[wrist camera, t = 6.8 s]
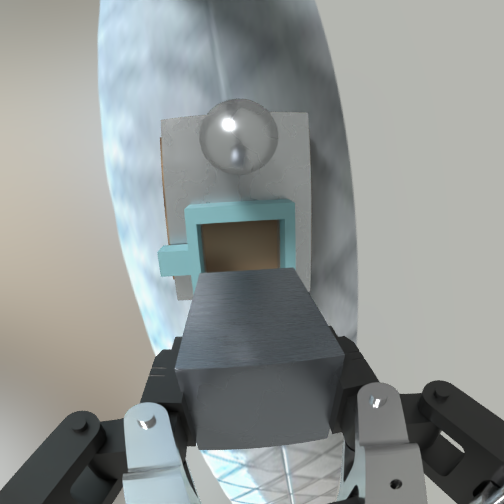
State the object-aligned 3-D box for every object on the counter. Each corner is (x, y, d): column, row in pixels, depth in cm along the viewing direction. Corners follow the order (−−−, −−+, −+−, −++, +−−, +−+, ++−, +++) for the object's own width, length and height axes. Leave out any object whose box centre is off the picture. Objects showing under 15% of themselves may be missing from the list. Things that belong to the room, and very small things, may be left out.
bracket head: (159, 207, 22) (151, 211, 20) (288, 199, 23) (295, 202, 21) (172, 300, 25) (166, 313, 22) (289, 293, 25) (295, 305, 23)
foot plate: (163, 139, 25) (160, 137, 24) (305, 131, 26) (309, 129, 25) (175, 274, 29) (173, 279, 28) (307, 265, 30) (310, 270, 29)
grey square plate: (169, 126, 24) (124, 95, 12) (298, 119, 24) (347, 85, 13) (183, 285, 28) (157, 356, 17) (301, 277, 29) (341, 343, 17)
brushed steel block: (199, 273, 13) (174, 368, 7) (293, 267, 14) (344, 354, 7) (208, 342, 15) (198, 449, 8) (292, 336, 15) (327, 438, 8)
